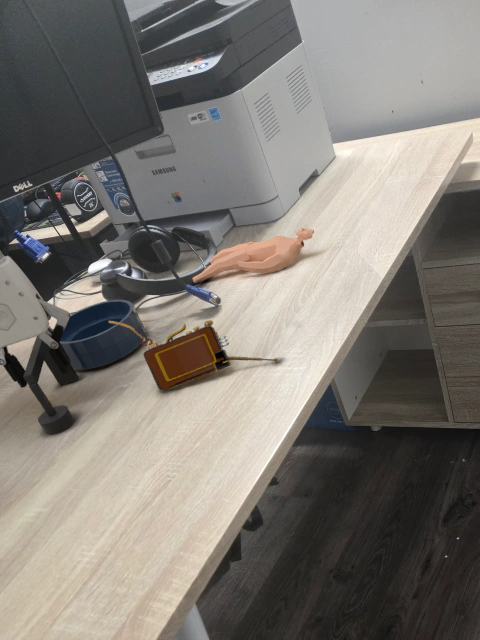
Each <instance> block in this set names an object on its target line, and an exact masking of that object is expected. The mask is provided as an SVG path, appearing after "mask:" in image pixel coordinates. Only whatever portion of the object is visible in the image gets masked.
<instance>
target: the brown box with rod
mask: <svg viewBox="0 0 480 640" xmlns="http://www.w3.org/2000/svg"><path fill="white" fill-rule="evenodd" d="M109 323H113V324H116V325H122V326H126V327H127V328H130V327H131V326H128V325H126V324H123V323H120V322H119V323H118V322H114V321H110V322H109ZM213 325H214V321H213V319H212V320H211V319H209V320H205V322H204V325H203V327H200V326H198V325H196V326H194V327H193V328H192V330H193V331H192V330H190V331H187V332H185V334H184V335H180V336H178V337H175V336H177V335H179V334H181V333H183V332H184V331H185V330H186V329H187V325H186V323H185V322H183V324H182V327H181V328H180V329H178V330H177V331H174V332H173V333H171V334H170V335H168V336H167V338H166V340H165V343H161V344H159V343H158V341H153V340H152V339H150V338H146V337H145V338H144V337H142V336H141V335H140V334H138V333H137V331H135V329H134V328H132V327H131V328H130V329H131V330H132V329H133V330H132V331H134V333H135V332H136V334H137V335H138V336H140V337H141V339H142V338H144V339H143V340H142V341H141V345H143V346H145V347H147V350H145V351H143V357H144V361H145V363H146V364H147V367H148V368H149V371H150V373H151V375H152V378H153V380H154V382H155V385H156V386H157V389H158V390H159V391H164V390H172V389H175V388H177V387H179V386H181V385H185V384H186V383H189V382H192V381H195V382H196V381H199V380H201V379H203V378H206V377H208V376H210V375H213V374H215V373H216V371H221V370H223V369H226V368H228V367H230V366H231V365H232V364H231V362H232V361H258V362H259V361H260V362H262V361H268V362H269V361H270V362H275V363H278V362H279V358H278V357H276V358H262V357H248V356H228V354H227V351H226V349H223V348H224V347H227V346H229V345H230V342H228V341H229V339H227V337H228V336H227V335H224V336H221V337H220V335H219V333H218V331H216V329H215V328H214V326H213ZM174 337H175V338H174ZM146 341H147V344H145V343H144V342H146ZM151 345H152V346H151ZM150 346H151V347H150Z"/></svg>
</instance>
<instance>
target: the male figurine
mask: <svg viewBox="0 0 480 640" xmlns="http://www.w3.org/2000/svg"><path fill="white" fill-rule="evenodd" d="M314 233H315V230H314V229H312V228H308V227H307V228H304V227H301V228H300V229H299V230H297V231H296V232H295V236H296V238H292V237H288V236H287V237H286V236H282V235H277V236H276V235H275V236H274V237H272V238H269V239H267V240H264V241H258V242H257V241H248V242H244V243H239V244H237V245H233V246H232V247H228V248H223V249H221V250H220V251H218V253H216V254H215V255H214V256H212V257H211V258H210V259H209V260H208V261H209V262H210V263H211V265H209V266H206V268H205V269H201V270H202V271H201V273H199V274H197V275H195V276H193V277H192V281H193V283H194V284H198V283H200V282H202V281H204V280H207V279H209V278H213V277H215V276H217V275H219V274H222V273H224V272H228V271H233V270H237V271H242V270H243V271H246V272H250V273H253V274H267V273H273V272H278V271H281V270H283V269H285V268H286V267H288V266H289V265H291V263H292V262H293V261H294V260H295V258H296V256H297V255H299V254H300V252H301V250H302V249H303V248H304V247H305V243H304V241H308V240H310V239H312V238H313V236H314ZM202 264H203V263H201V264H200V268H201V267H202V266H201V265H202Z"/></svg>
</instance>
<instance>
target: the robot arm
mask: <svg viewBox="0 0 480 640" xmlns="http://www.w3.org/2000/svg"><path fill="white" fill-rule="evenodd" d="M70 315H71V313H70V311H68V310H66V309H63V308H61V307H59V306H57V305H54V304H52V303H50V302H47V301H46V300H44V299H43V297H42V296H41V295H40V293H39V292H38V290H37V289H36V287H35V286H34V284H33V283H32V281H31V280H30V279H29V278H28V276H27V275H26V274H25V272H24V271H23V270H22V269H21V268H20V267H19V265H18V264H17V263H16V261H14V259H12V257H11V256H10V255H4V254H3V252H2V251H1V250H0V366H1V367H3V368H4V369H5V371H6V372H7V374H8V376H9V377H10V378H11V380H12V381H13V382H15V383H17V384H18V385H19V387H20V388H21V389H23V388H26V387H27V385H28V384H27V382H26V381H25V379H24V378H23V376H24V373H25V370H26V369H25V368H24V366H23V365H22V363H21V362H20V361H19V359H18V358H17V356H16V355H14V354H11V353H10V351H9V348H8V346H12V345H14V344H18V343H21V342H24V341H26V340H30V339H33V338H36V337H37V336H38V337H39V338H40V339H41V340H42V341H44V342H45V343H46V344H47V345H48V346H49V348H50V350H49V353H50V355H51V357H52V358H53V360H54V361H55V363H56V365H57V366H58V368H59V369H60V371H61V373H62V374H67V373H68V371H69V366H70V363H71V361H70V358H69V356H68V355H67V353H66V351H65V350H64V348H63V346H62V345H61V343H60V340H61V337H62V335H63V332H64V329H65V327H66V325H67V323H68V320H69V317H70ZM52 318H54V319H55V320H56V322H55V323H56V324H55V325H54V327H53V328H52V327H51V326H50V320H51V319H52ZM53 329H54V330H53Z"/></svg>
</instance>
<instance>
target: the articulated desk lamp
mask: <svg viewBox="0 0 480 640" xmlns="http://www.w3.org/2000/svg"><path fill="white" fill-rule="evenodd" d="M49 350H50V348H49V346H48V345H47V344H46V343H45V342H44V341H42V340H41V339H40V338H39V337H38V336H36V337H35V339H34V343H33V346H32V349H31V352H30V355H29V358H28V361H27V364H26V367H25V369H24V370H25V373H24V376H23V378H24V379H25V381H26V382H27V385H28V387H29V389H30V391H31V392H32V394H33V395H34V397H35V398H36V400H37V401H38V403H39V405H41V407H42V409H43V410H44V412H42V413H41V414H40V415H39V416H38V418H37V421H38V424H39V425H40V426H41V428H42V429H43V431H44V432H45V433H46V434H47V435H56V434H59V433H62V432H64V431H66V430H67V429H69V428H70V427H71V426H72V425H73V424H74V422H75V417H74V416H73V414H72V412H71V411H70V409H69V407H68V406H66V405H63V404H60V405H59V404H58V405H55V406H53V405H52V403H51V401H50V400H49V398H48V397H47V394H45V392H44V391H43V389H42V387H41V386H40V384H39V380H40V376H41V373H42V369H43V366H44V363H45V365H46V366H47V368H48V370H49V372H51V374H52V376H53V378H55V380H56V382H57V384H58V385H59V387H62V386H65V385H69V384H72V383H74V382H77V381H78V380H79V375H78V373H77V372H76V369H73V367H72V365H71V364H70V366H69V371H68V373H67V374H62V373H61V371H60V369H59V368H58V366H57V365H56V363H55V361H54V360H53V358H52V357H51V355H50V353H49Z"/></svg>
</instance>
